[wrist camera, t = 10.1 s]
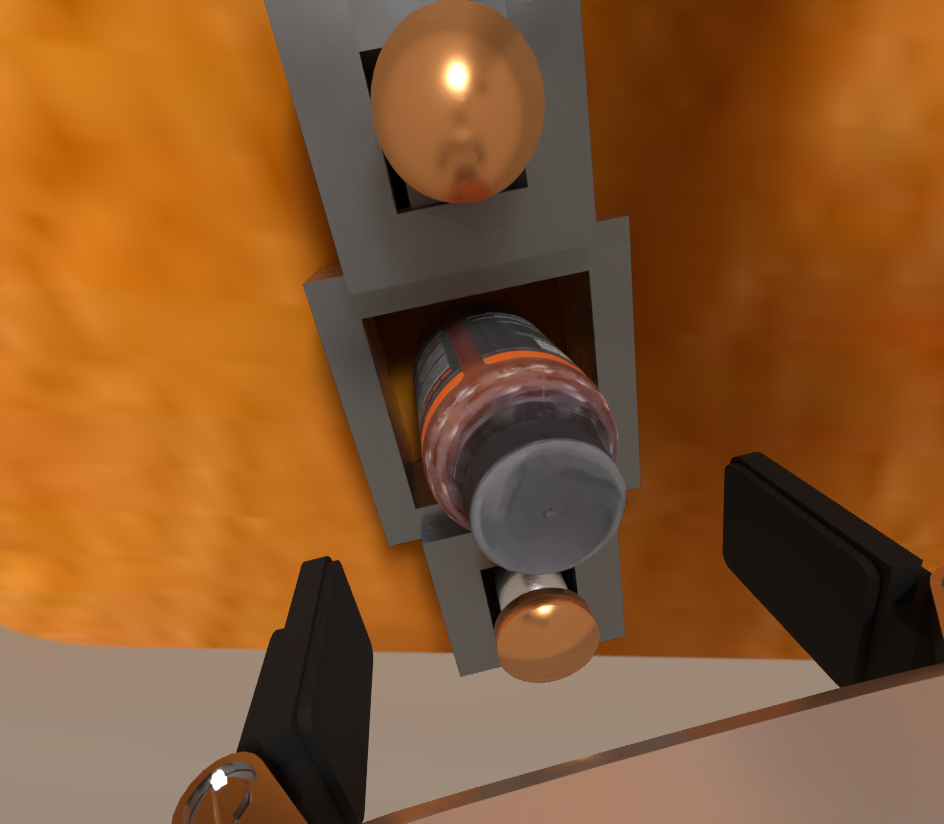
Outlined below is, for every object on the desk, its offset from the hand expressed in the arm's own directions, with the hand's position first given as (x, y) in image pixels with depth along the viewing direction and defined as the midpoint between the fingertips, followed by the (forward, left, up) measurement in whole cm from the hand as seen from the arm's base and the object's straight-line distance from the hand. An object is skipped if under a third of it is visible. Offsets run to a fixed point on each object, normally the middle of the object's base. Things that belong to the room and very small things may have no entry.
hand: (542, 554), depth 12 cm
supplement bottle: (-1, 0, -12) cm, 12 cm away
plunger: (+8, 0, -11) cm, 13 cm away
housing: (-1, 0, -12) cm, 12 cm away
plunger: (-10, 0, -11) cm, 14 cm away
